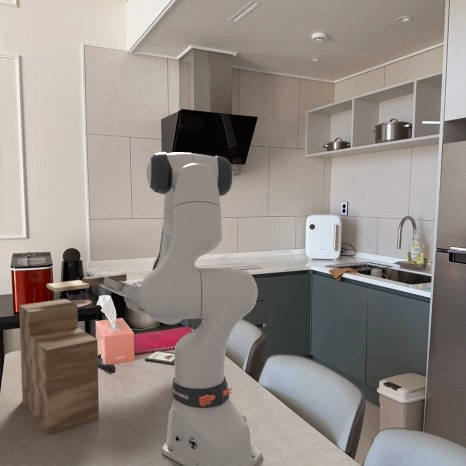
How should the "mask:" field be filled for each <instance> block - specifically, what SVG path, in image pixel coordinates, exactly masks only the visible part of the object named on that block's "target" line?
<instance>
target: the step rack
mask: <svg viewBox="0 0 466 466" xmlns="http://www.w3.org/2000/svg"><path fill="white" fill-rule="evenodd" d="M18 309H19V310H18V311H19V334H20V336H19V337H20V360H21V361H20V362H21V363H20V365H21V393H22V398H21V399H22V400H21V401H22V402H23V404H24V405H25V406H26V408H27V409H28V410H29V412H30V413H31V415H32V416H33V417H34V418H35V420H36V421H37V422H38V423H39V425H40V426H41V427H42V429H43V430H44V431H45V433H46V435H47V436H51V435H54V434H57V433H60V432H63V431H66V430H69V429H72V428H76V427H79V426H82V425H85V424H89V423H92V422H94V421H97V420H99V419H100V406H99V405H100V404H99V403H100V401H99V400H100V399H99V367H98V355H99V353H98V350H99V348H98V347H99V346H98V339H97V338H96V337H94V336H93V335H92V334H89V333H88V332H86V331H84V330H83V329H81V328H79V326H78V325H79V323H78V322H79V320H78V319H79V318H78V317H79V316H78V304H77V303H75V302H72V301H70V300H68V298H67V299H66V298H62V299H54V300H46V301H40V302H33V303H26V304H20V305H19V307H18Z"/></svg>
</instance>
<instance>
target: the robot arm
mask: <svg viewBox="0 0 466 466" xmlns="http://www.w3.org/2000/svg"><path fill="white" fill-rule="evenodd" d="M149 159H150V160H149V162H148V163H147V166H146V179H147V183H148V185H149V189H151V190H152V191H153V192H155V193H158V194H161V195H164V201H163V202H164V203H163V220H162V221H163V223H162V224H163V225H162V230H161V237H160V247H159V251H158V255H157V256H156V260H155V262H154V264H153V267H152V271H150V272H149V273H148V274H147V275H145V277H144V278H143V280H140V281H139V280H138V281H136V282H133V283H129V282H127V281H121V280H119V281H115V280H112V279H110V278H108V277H104V278H103V280H102V282H103V283H105V284H100V285H99V286H100V287H101V288H103V289H105V290H108V291H110V292H112V293H115V294H117V295H119V296H122V297H123V298H124V303H126V307H127V308H128V309H130V310H131V311H134V312H136V313H139V314H141V315H144V316H148V317H149V318H150V319H152V320H155V321H157V322H158V323H163V324H166V325H177V324H179V323H180V322H181V321H182V320H190V319H191V320H192V319H193V320H194V319H200V320H202V321H201V323H200V325H199V326H198V327H197V328H196V329H194V330H192V331H190V332H188V333H186V334H185V335H183V336H182V337H181V338H180V339H179V340H178V341H177V342H176V345H175V347H174V353H175V365H174V376H173V379H172V385H171V389H172V397H173V402H172V405H171V408H170V410H169V412H168V417H167V419H168V420H167V429H166V442H165V443H164V444H163V445H162V448H161V449H162V450H161V453H162V454H163V455H164V456H166V457H168V458H169V459H172V460H174V461H175V462H177V463H179V464H181V465H182V466H255V465H256V464H258V463H259V461H260V460H261V458H262V457H263V453H262V451H263V450H261V448H260V447H258V445H257V444H255V442H253V441H252V440H251V431H250V428H249V425H248V422H247V421H248V420H247V417H246V415H245V414H244V413H240V412H239V410H238V408H237V407H236V406H235V404H234V403H233V401H232V399H231V398H230V395H231V394H232V393H233V392H230V391H232V390H233V389H232V387H231V388H229V385H228V381H227V378H226V376H225V361H226V349H227V345H228V341H229V338H230V336H231V333H232V332H233V330H234V328H235V327H236V325H237V324H238V323H239V322H240V320H242V319H243V318H244V317H245V316H246V315H248V314H249V313H250V312H251V311H253V309H254V308H255V306H256V304H257V300H258V295H259V290H258V285H257V283H256V280H255V278H254V276H253V275H252V274H251V273H250V272H249V271H247V270H244V269H243V270H242V269H239V268H238V269H237V268H234V267H233V268H232V267H206V268H205V267H202V268H201V267H197V266H196V261H197V260H198V259H199V258H201V257H203V256H204V255H207V254H209V253H210V252H212V251H213V250H215V249H216V248H218V246H219V245H220V243H221V242H222V237H223V232H222V231H223V230H222V229H223V228H222V213H221V211H222V210H221V208H222V207H221V198H220V197H223V196H225V195H227V193H229V192H230V191H231V188H232V185H233V183H234V182H233V181H234V171H233V167H232V163H231V162H230V161H229V159H228V158H226V157H223V156H219V155H215V156H212V155H207V154H201V153H192V152H170V153H169V152H168V153H167V152H165V151H162V152H157V153H154V154H153V155H152V156H151V157H150V158H149ZM102 275H103V274H98V275H97V276H102Z"/></svg>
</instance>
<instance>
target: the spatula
mask: <svg viewBox="0 0 466 466" xmlns="http://www.w3.org/2000/svg"><path fill="white" fill-rule="evenodd" d="M101 275H102V276H98V275H96V276H87V277H86V276H85V277H82V280H80V279H78V280H68V281H61V282H50V283H46V289H49V290H51V291H53V292H54V293H57V292H65V291H72V290H73V291H74V290H80V289H81V290H82V289H87V288H90V287H91V286H98V285H99V286H100V284H105V283H103V282H102V280H103V278H104V277H108V278H110V279H112V280H115V281H119V280H121V281H124V282H127V281H128V279H127V277H128V276H127V273H124V272H120V273H113V274H112V273H111V274H104V275H103V274H101Z"/></svg>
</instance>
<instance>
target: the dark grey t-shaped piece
mask: <svg viewBox="0 0 466 466" xmlns="http://www.w3.org/2000/svg"><path fill="white" fill-rule="evenodd" d="M101 354H102V353H98V368H100V369H103V370H105V371H106V372H107V371H108V372H110V373H114V372H116V366H115V364H114V363H111V364H110V363H109V364H107V363H103V361H102V358H101Z"/></svg>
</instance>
